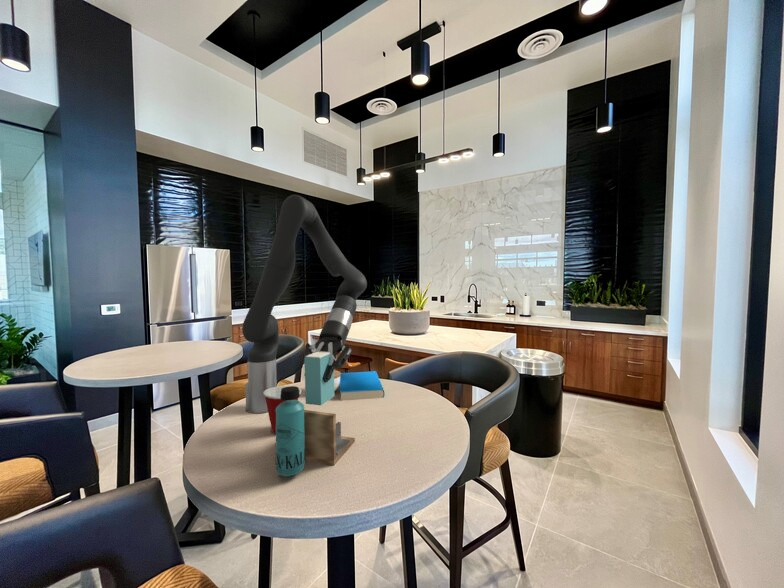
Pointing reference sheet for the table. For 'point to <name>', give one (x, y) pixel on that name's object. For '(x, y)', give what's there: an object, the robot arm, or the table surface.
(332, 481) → the table surface
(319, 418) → the shelf
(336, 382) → the lidded jar
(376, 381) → the book
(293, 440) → the beverage bottle
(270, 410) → the plastic cup
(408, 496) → the table surface
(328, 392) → the teal book
